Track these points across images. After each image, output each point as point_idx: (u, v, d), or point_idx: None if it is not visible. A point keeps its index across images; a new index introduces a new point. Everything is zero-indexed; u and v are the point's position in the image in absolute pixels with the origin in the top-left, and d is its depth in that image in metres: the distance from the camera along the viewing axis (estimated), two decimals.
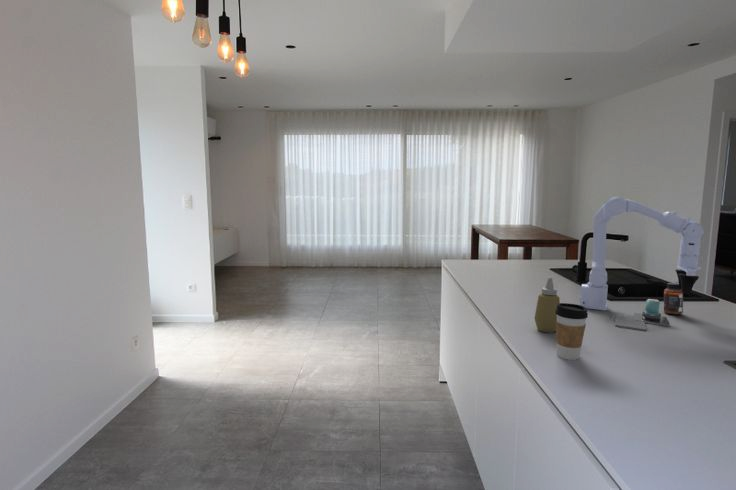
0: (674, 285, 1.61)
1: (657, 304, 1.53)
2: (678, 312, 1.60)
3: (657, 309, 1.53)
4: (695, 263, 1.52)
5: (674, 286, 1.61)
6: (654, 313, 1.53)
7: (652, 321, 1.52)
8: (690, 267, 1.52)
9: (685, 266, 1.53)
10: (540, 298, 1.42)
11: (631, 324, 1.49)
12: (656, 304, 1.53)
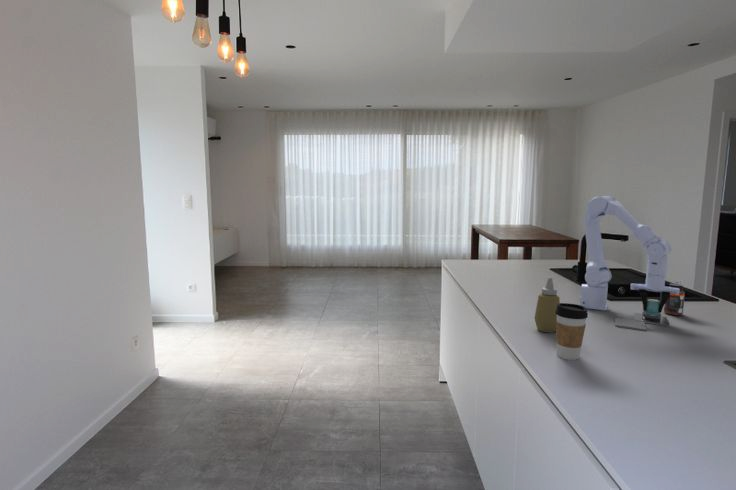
0: (676, 286, 1.60)
1: (657, 304, 1.53)
2: (678, 313, 1.60)
3: (657, 309, 1.53)
4: (649, 281, 1.53)
5: (676, 287, 1.60)
6: (654, 313, 1.53)
7: (652, 321, 1.52)
8: (645, 284, 1.55)
9: None
10: (540, 298, 1.42)
11: (631, 324, 1.49)
12: (656, 304, 1.53)
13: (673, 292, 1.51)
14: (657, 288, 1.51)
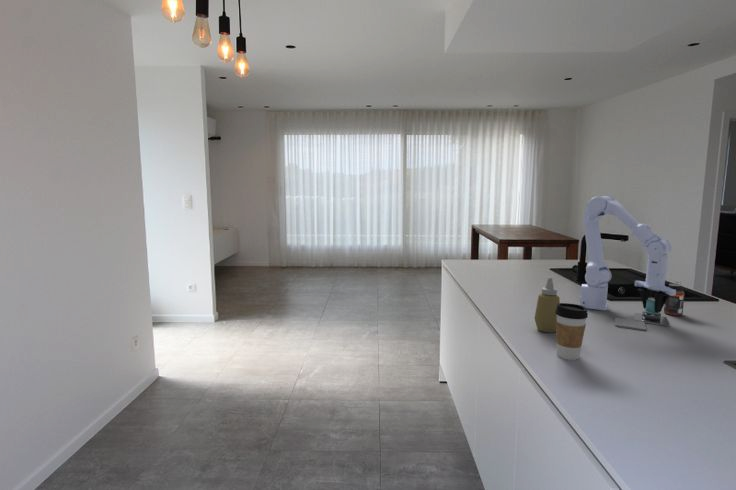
0: (675, 287, 1.60)
1: (653, 303, 1.53)
2: (677, 313, 1.60)
3: (653, 308, 1.53)
4: None
5: (675, 287, 1.60)
6: (649, 311, 1.54)
7: (652, 321, 1.52)
8: None
9: None
10: (540, 298, 1.42)
11: (631, 324, 1.49)
12: (651, 302, 1.53)
13: (668, 293, 1.48)
14: (648, 286, 1.52)
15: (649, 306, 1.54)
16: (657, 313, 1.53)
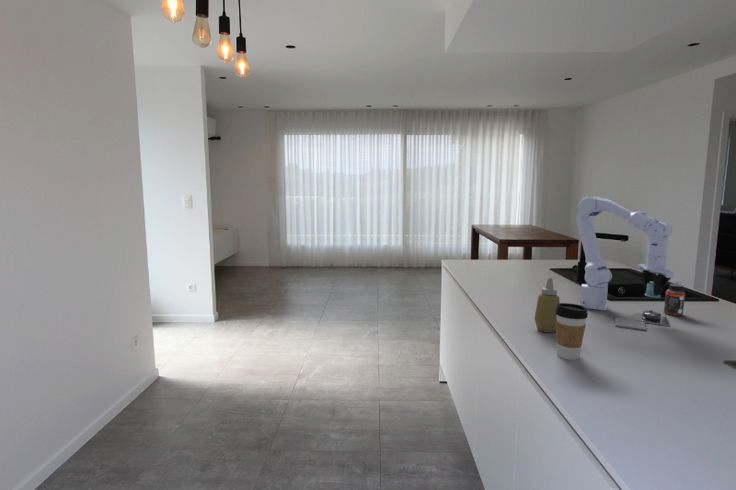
0: (676, 287, 1.60)
1: (652, 286, 1.52)
2: (677, 314, 1.60)
3: (652, 291, 1.52)
4: None
5: (676, 287, 1.60)
6: (648, 294, 1.53)
7: (652, 321, 1.52)
8: None
9: None
10: (540, 298, 1.42)
11: (631, 324, 1.49)
12: (651, 286, 1.52)
13: None
14: (647, 268, 1.52)
15: (649, 289, 1.53)
16: (656, 296, 1.52)
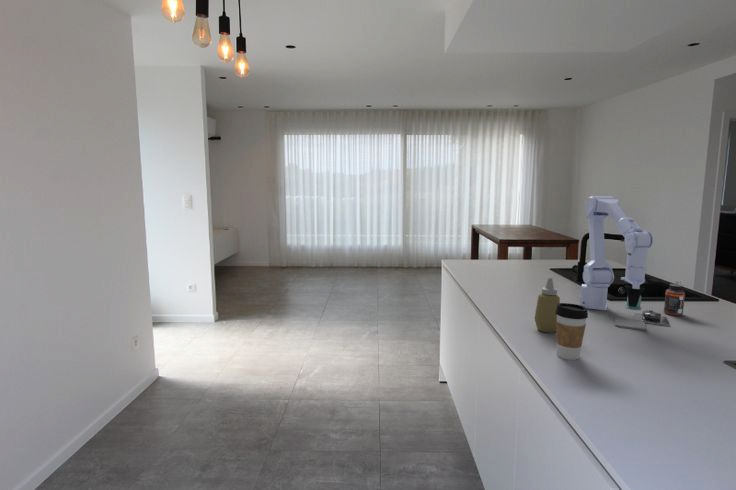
0: (676, 287, 1.60)
1: None
2: (677, 314, 1.60)
3: None
4: None
5: (676, 287, 1.60)
6: (627, 306, 1.49)
7: (652, 321, 1.52)
8: None
9: None
10: (540, 298, 1.42)
11: (631, 324, 1.49)
12: None
13: None
14: (623, 278, 1.49)
15: None
16: (634, 309, 1.47)
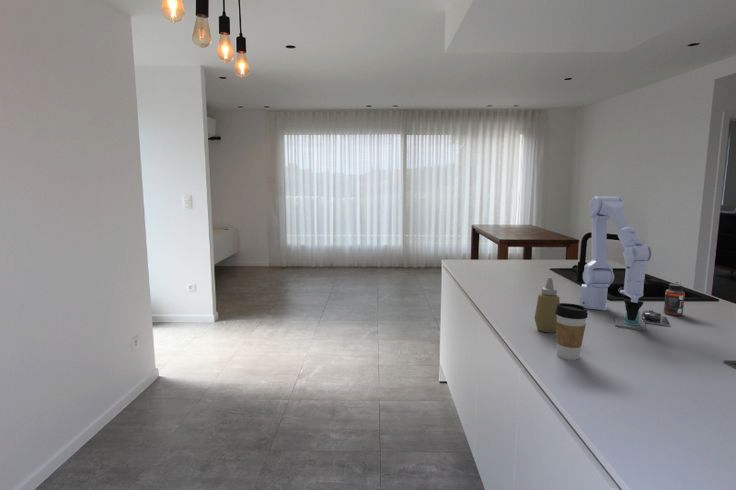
0: (675, 286, 1.60)
1: None
2: (677, 313, 1.60)
3: None
4: None
5: (675, 287, 1.60)
6: (625, 321, 1.50)
7: (652, 321, 1.52)
8: None
9: None
10: (540, 298, 1.42)
11: None
12: None
13: None
14: (622, 291, 1.50)
15: (626, 316, 1.50)
16: (632, 324, 1.48)
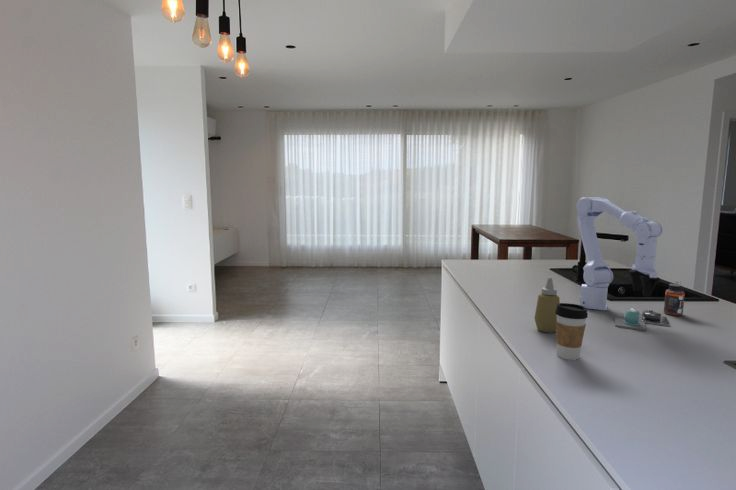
0: (675, 287, 1.60)
1: (628, 313, 1.49)
2: (677, 313, 1.60)
3: (629, 318, 1.49)
4: None
5: (675, 287, 1.60)
6: (625, 321, 1.50)
7: (652, 321, 1.52)
8: None
9: None
10: (540, 298, 1.42)
11: None
12: (627, 312, 1.49)
13: None
14: (634, 267, 1.51)
15: (626, 316, 1.50)
16: (632, 324, 1.48)
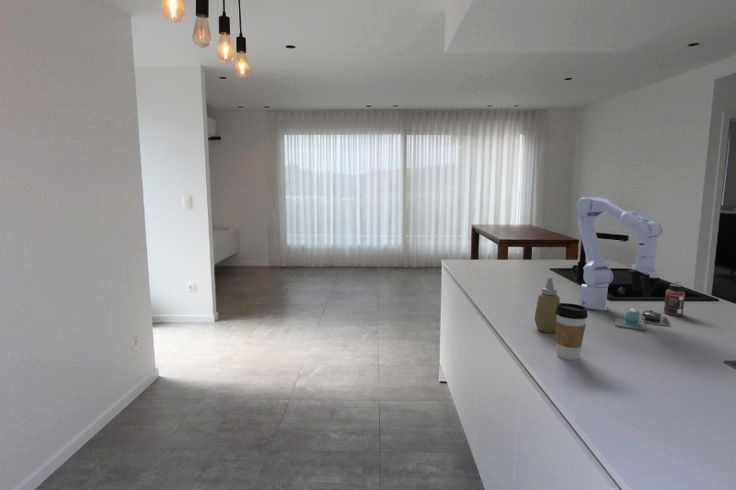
0: (675, 287, 1.60)
1: (628, 313, 1.49)
2: (677, 314, 1.60)
3: (629, 318, 1.49)
4: None
5: (676, 287, 1.60)
6: (625, 321, 1.50)
7: (652, 321, 1.52)
8: None
9: None
10: (540, 298, 1.42)
11: None
12: (627, 312, 1.49)
13: None
14: (634, 267, 1.51)
15: (626, 316, 1.50)
16: (632, 324, 1.48)
